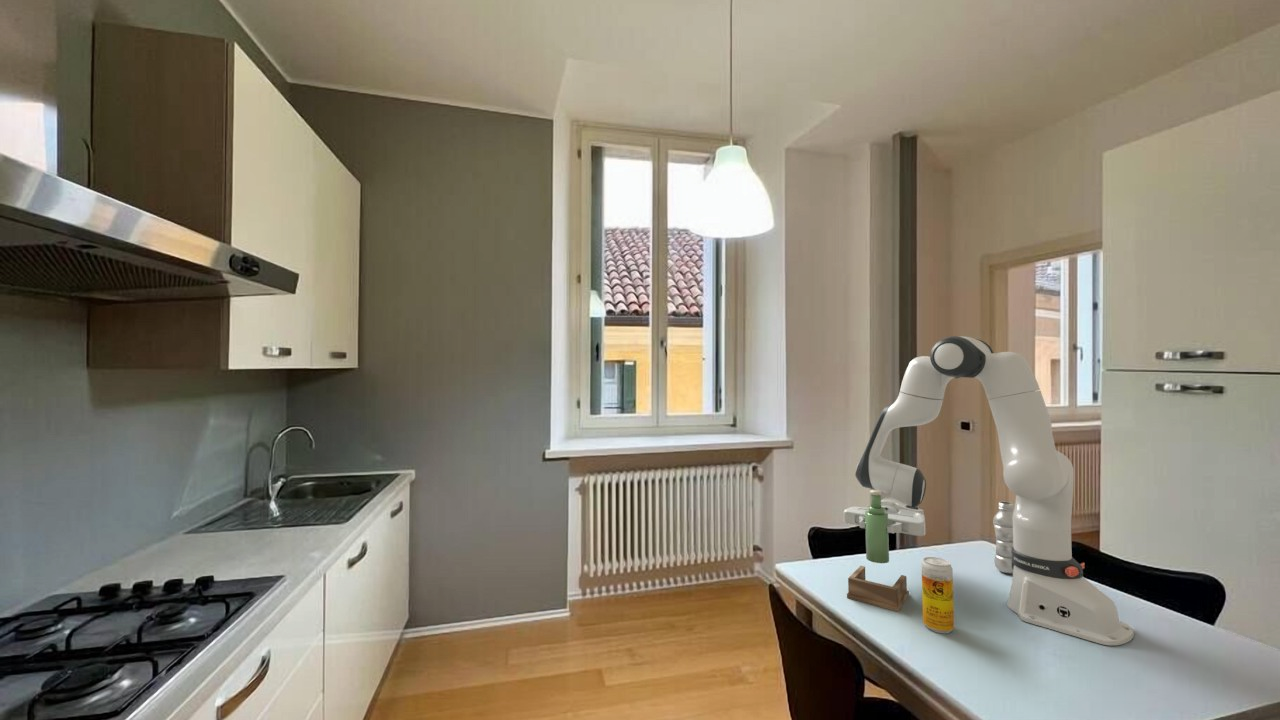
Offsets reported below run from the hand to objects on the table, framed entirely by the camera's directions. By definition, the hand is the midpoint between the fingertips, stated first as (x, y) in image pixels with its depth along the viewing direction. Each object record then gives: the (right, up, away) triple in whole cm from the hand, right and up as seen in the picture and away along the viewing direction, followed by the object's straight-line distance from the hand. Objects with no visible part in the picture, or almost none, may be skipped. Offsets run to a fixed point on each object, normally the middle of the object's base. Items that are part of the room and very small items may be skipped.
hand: (875, 527), depth 130 cm
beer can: (+6, -18, -17) cm, 25 cm away
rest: (0, -18, 0) cm, 18 cm away
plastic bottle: (+45, -18, +14) cm, 51 cm away
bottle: (+1, -9, 0) cm, 9 cm away
